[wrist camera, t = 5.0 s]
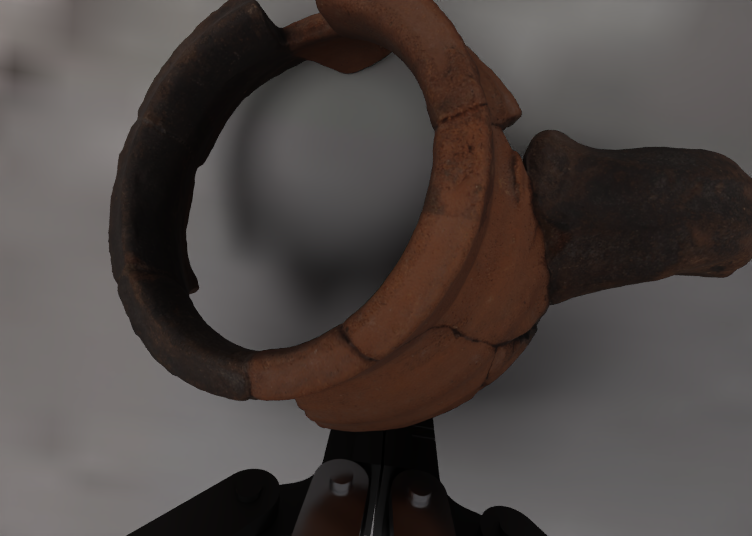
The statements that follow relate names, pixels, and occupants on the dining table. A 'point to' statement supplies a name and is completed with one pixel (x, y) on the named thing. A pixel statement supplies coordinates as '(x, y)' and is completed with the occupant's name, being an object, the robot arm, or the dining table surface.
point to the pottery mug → (434, 229)
